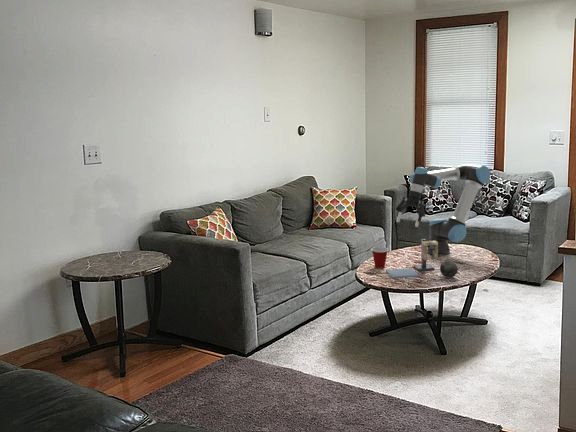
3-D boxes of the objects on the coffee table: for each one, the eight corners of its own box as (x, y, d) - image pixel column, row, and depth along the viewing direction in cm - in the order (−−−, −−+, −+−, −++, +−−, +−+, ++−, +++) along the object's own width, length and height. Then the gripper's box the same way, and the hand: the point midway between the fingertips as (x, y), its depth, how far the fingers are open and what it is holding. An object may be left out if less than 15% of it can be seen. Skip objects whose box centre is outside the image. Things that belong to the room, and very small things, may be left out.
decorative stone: (437, 278, 365) (437, 261, 364) (444, 274, 373) (444, 257, 371) (453, 280, 359) (453, 263, 357) (460, 276, 367) (460, 259, 365)
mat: (411, 269, 385) (411, 268, 385) (419, 276, 370) (419, 275, 369) (386, 271, 384) (385, 269, 384) (392, 278, 368) (392, 276, 368)
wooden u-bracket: (435, 257, 376) (435, 240, 375) (437, 259, 372) (437, 242, 370) (422, 258, 376) (422, 241, 374) (424, 260, 371) (424, 243, 369)
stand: (429, 266, 392) (429, 237, 389) (440, 275, 371) (441, 244, 368) (413, 267, 392) (413, 238, 388) (424, 276, 370) (424, 245, 367)
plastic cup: (378, 270, 388) (377, 251, 385) (368, 266, 397) (367, 248, 395) (392, 267, 392) (392, 248, 390) (382, 264, 402) (381, 245, 400)
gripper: (396, 187, 398) (387, 219, 398) (430, 193, 382) (421, 227, 382) (402, 189, 404) (393, 221, 404) (436, 196, 387) (427, 229, 387)
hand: (406, 224), depth 393 cm, fingers open, 13 cm apart
